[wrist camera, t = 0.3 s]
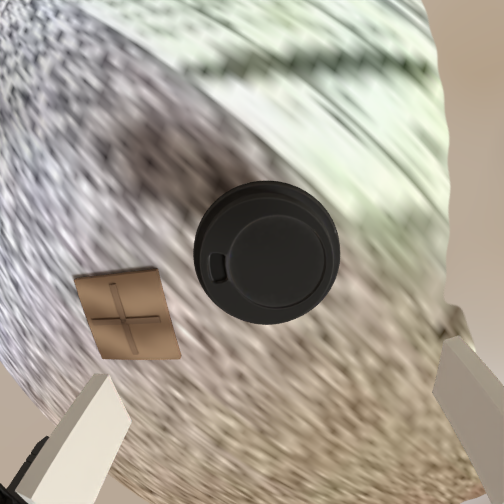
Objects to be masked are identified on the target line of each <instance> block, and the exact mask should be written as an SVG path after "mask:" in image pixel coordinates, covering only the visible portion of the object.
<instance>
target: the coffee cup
mask: <svg viewBox="0 0 504 504" xmlns="http://www.w3.org/2000/svg"><path fill="white" fill-rule="evenodd" d="M193 258H194V266H195V271H196V274H197V277H198V280H199V282H200V284H201V286H202V288H203V289H204V291H205V293H206V294H207V295H208V297H209V298H210V299H211V300H212V301H213V302H214V303H215V304H216V305H217V306H218V307H219V308H221V309H222V310H223V311H225V312H226V313H228V314H230V315H231V316H233V317H236V318H238V319H240V320H243V321H246V322H250V323H254V324H262V325H272V324H280V323H284V322H288V321H291V320H293V319H296V318H298V317H300V316H302V315H304V314H306V313H307V312H309V311H310V310H312V309H313V308H314V307H316V306H317V305H318V304H319V303H320V302H321V301H322V300H323V299H324V297H325V296H326V295H327V294H328V292H329V291H330V289H331V287H332V285H333V283H334V281H335V279H336V276H337V273H338V269H339V264H340V244H339V237H338V233H337V230H336V227H335V224H334V222H333V220H332V218H331V217H330V215H329V213H328V212H327V210H326V209H325V208H324V207H323V205H322V204H321V203H320V202H319V201H318V200H317V199H315V198H314V197H313V196H312V195H310V194H309V193H307V192H306V191H304V190H302V189H300V188H298V187H296V186H293V185H290V184H287V183H283V182H278V181H256V182H250V183H247V184H243V185H240V186H238V187H236V188H233V189H231V190H230V191H228V192H226V193H225V194H223V195H222V196H221V197H219V198H218V199H217V200H216V201H215V202H214V203H213V204H212V205H211V206H210V207H209V209H208V210H207V211H206V213H205V214H204V216H203V218H202V220H201V222H200V224H199V226H198V229H197V232H196V236H195V241H194V251H193Z"/></svg>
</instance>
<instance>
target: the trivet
mask: <svg viewBox="0 0 504 504" xmlns="http://www.w3.org/2000/svg"><path fill="white" fill-rule="evenodd" d="M74 282H75V285H76V288H77V291H78V295H79V298H80V301H81V304H82V307H83V310H84V312H85V315H86V318H87V321H88V324H89V326H90V329H91V332H92V334H93V337H94V339H95V342H96V344H97V347H98V349H99V352H100V354H101V357H102V359H122V360H166V359H180V358H181V352H180V349H179V346H178V342H177V339H176V336H175V332H174V329H173V325H172V322H171V318H170V314H169V311H168V307H167V303H166V299H165V295H164V292H163V288H162V284H161V280H160V275H159V271H158V269H151V270H142V271H134V272H125V273H116V274H108V275H99V276H90V277H81V278H76V279H75V280H74Z"/></svg>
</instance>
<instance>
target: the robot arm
mask: <svg viewBox="0 0 504 504" xmlns="http://www.w3.org/2000/svg"><path fill="white" fill-rule="evenodd" d="M432 393H433V395H434V396H435V398H436V400H437V401H438V403H439V405H440V406H441V408H442V410H443V412H444V413H445V415H446V417H447V419H448V420H449V422H450V424H451V426H452V427H453V429H454V431H455V433H456V435H457V436H458V438H459V440H460V442H461V444H462V446H463V447H464V449H465V451H466V453H467V455H468V457H469V459H470V461H471V463H472V465H473V467H474V468H475V470H476V472H477V474H478V476H479V478H480V480H481V483H482V485H483V487H484V489H485V491H486V493H487V495H488V497H489V499H490V501H491V504H504V386H503V384H502V383H501V382H500V381H499V380H498V378H497V377H496V376H495V375H494V374H493V373H492V371H491V370H490V369H489V368H488V367H487V366H486V365H485V363H484V362H483V361H482V360H481V359H480V358H479V357H478V356H477V354H476V353H475V352H474V351H473V350H472V349H471V348H470V347H469V346H468V344H467V343H466V342H465V341H464V340H463V339H462V338H461V337H460V336H456V337H453V338H449V339H446V340H444V342H443V347H442V352H441V357H440V362H439V367H438V371H437V375H436V380H435V384H434V388H433V392H432ZM131 422H132V420H131V419H130V417H129V415H128V413H127V411H126V409H125V407H124V405H123V403H122V401H121V399H120V397H119V395H118V393H117V391H116V389H115V386H114V384H113V382H112V380H111V378H110V375H109V374H94V375H93V376H92V378H91V379H90V380H89V382H88V383H87V384H86V386H85V387H84V389H83V390H82V391H81V393H80V394H79V395H78V397H77V398H76V400H75V401H74V402H73V404H72V405H71V407H70V408H69V410H68V411H67V412H66V414H65V415H64V417H63V418H62V420H61V421H60V422H59V424H58V425H57V427H56V428H55V430H54V431H53V433H52V434H51V436H50V437H48V436H46V437H45V438H43V439H42V440H41V441H39V442H38V443H37V444H36V446H35V447H34V449H33V450H32V452H31V455H29V456H28V458H27V459H26V462H24V464H23V465H22V467H21V468H20V470H19V471H18V473H17V474H16V476H15V477H14V479H13V480H12V482H11V484H10V485H9V486H8V488H7V489H5V487H3V485H2V484H1V483H0V504H94V502H95V500H96V497H97V496H98V493H99V491H100V489H101V487H102V484H103V482H104V480H105V478H106V476H107V473H108V471H109V469H110V467H111V465H112V462H113V460H114V458H115V456H116V454H117V452H118V450H119V447H120V445H121V443H122V441H123V439H124V437H125V435H126V433H127V430H128V428H129V426H130V424H131Z"/></svg>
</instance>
